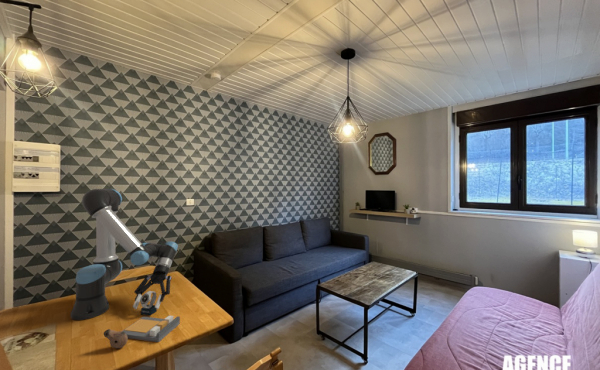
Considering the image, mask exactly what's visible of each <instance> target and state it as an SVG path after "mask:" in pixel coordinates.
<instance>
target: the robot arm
mask: <svg viewBox="0 0 600 370" xmlns="http://www.w3.org/2000/svg"><path fill="white" fill-rule="evenodd" d="M122 202H123V197H122V195H121V193H120V192H119V191H117V190H116V189H114V188H93V189H90V190H88V191H87V192H85V193H84V195H83V196H82V199H81V203H82V206H83V208H84V210H85V211H86V213H87V214H88V215H89V216H90V217H91V218H92V219H95V220H96V224H95V225H96V226H95V227H96V232H95V233H96V257H95V258H94V259H93V260H92V264H90V265H88V266H84V267H81V268H80V269H79V270H78V271H77V272H76V276H75V302H74V304H73V308H72V310H71V312H70V319H71V320H74V321H83V320H88V319H92V318H96V317H98V316H101V315H102V314H105V313H106V312H107V311H108V310H109V309H110V304H109V301H108V298H107V296H106V285H107V284H109V283H110V282H111V281H113V280H115V279H116V278H117V277H118V276H119V275H120V274H121V273H122V270H123V263H122V262H121V261H120V257H119V256H118V255H117V254H116V242H118V244H119V245H120V246H121V247H122V248H123V249H124V250H125V251H126V252H127V253H128V255H129V256H130V258H129V259H130V263H131V264H133V265H134V266H141V265H143V264H146V263H147V262H148V261H149V260H151V259H152V258H158V260H157V263H156V264H155V267H154V269H153V271H152V274H151V275H145V276H144V279H143V280H142V281H141V282H140V284H139V285H138V286H137V287H136V289H135V290H134V294H135V298H134V303H133V305H132V308H134V310H137V309H138V307H139V304H140V303H141V302H140V299H141V297H142V296H143V295H144V294H145V293H146V292H147V290H148V289H149V288H150V287H151V286H154V285H159V286H160V290H161V293H160V294H159V295H158V298H157V299H156V300H157V301H156V302H155V304H154V305H155V308H156V309H157V310H159V308H160V305H161V303H162V302H164V299H165V297H166V296H167V295H170V294H171V293H170V292H171V280H172V276H171V275H168V274H169V271H170V269H171V266H172V263H173V261H174V259H175V256H176V254H177V252H178V251H177V250H178V248H179V245H178V243H176V242H174V241H167V242H165V243H164V244H159V243H151V242H143V243H142V242H141V241H140V240H139V238H137V237H136V235H135V234H134V233H133V232H132V231H131V229H129V228H128V227H127V226H126V224H125V223H124V222H123V221H122V219H121V218H119V216H118V215H117V213H118V212H119V206H120V205H121V204H122ZM165 280H166V282H164V281H165ZM165 283H166V285H165Z"/></svg>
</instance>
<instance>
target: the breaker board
mask: <svg viewBox="0 0 600 370" xmlns="http://www.w3.org/2000/svg"><path fill="white" fill-rule="evenodd" d="M180 323H181V317H180V316H176V317H175V318H174V315H168V316H167V317H165V318H161V317H160V318H157V317H151V316H142V317H140V318H138V319H137V320H136V321H135V322H133V323H131V325H129V326H127V327H126V328H124V329H123V330H122V331H123V332H125V333H126V335H127V338H128V339H131V340H141V341H148V342H153V343H154V342H156V343H159V342H161V341H162V340H163V339H164V338H165V337H167V336H168V335H169V334H170V333H171V332H172V331H174V329H176V328H177V327H178V326H180Z"/></svg>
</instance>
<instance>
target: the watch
mask: <svg viewBox="0 0 600 370" xmlns="http://www.w3.org/2000/svg"><path fill="white" fill-rule="evenodd" d="M156 300H157V292H156V291H151V290H148V291H146V292H144V293H143V294H142V297H141V299H140V302H139V303H140V305H141V308H140V313H141V314H140V315H144V316H148V317H151V316H152V315H153V314H155V313H156V312H157V311H158V309H156V308H155V305H156ZM148 303H149V304H148Z"/></svg>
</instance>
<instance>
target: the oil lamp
mask: <svg viewBox="0 0 600 370" xmlns="http://www.w3.org/2000/svg"><path fill="white" fill-rule="evenodd" d="M103 336H104V338H107V339H108V341H109V345H110V347H111V348H114V349H121V348H123V347H124V346H126V345H127V343H128V340H129V338H127V335H126V333H125V332H123V330H119V331H116V330H114V329H109V328H108V329H106V330H105V331H103Z"/></svg>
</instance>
